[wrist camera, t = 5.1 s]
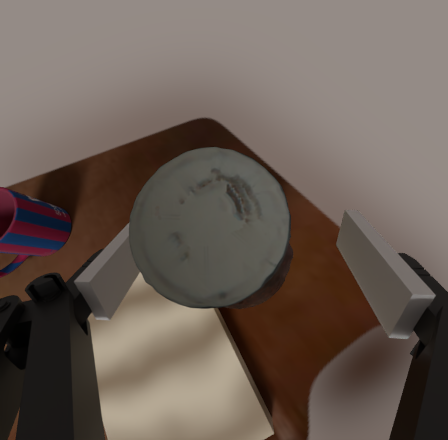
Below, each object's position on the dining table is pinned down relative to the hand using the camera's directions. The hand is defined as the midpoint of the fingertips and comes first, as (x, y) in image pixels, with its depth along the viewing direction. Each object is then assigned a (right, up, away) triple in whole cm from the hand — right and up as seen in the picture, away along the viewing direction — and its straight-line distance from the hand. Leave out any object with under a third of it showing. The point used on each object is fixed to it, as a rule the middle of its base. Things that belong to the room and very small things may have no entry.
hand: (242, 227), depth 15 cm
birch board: (-8, -13, +8) cm, 17 cm away
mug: (-25, -2, +13) cm, 29 cm away
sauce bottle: (+1, -4, +9) cm, 10 cm away
